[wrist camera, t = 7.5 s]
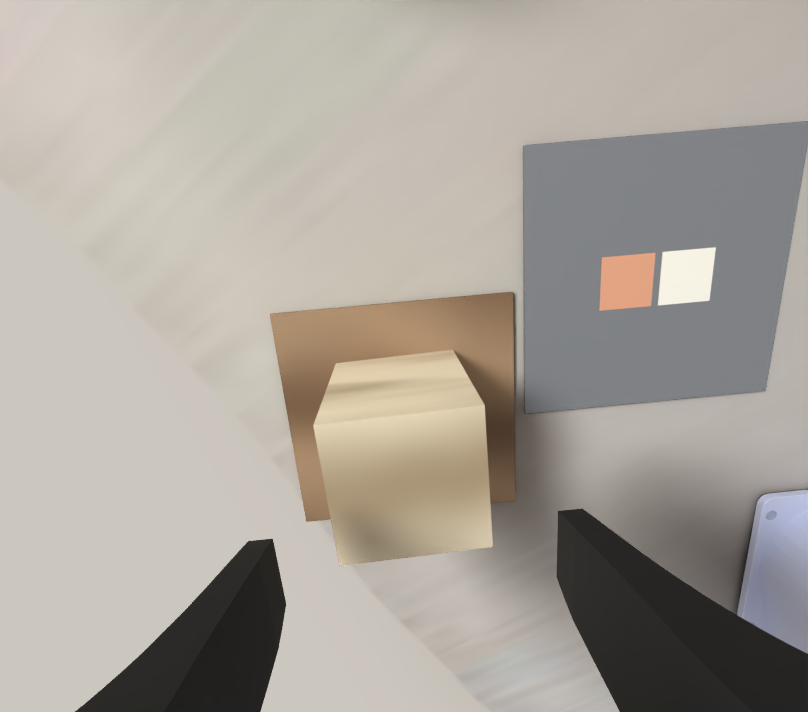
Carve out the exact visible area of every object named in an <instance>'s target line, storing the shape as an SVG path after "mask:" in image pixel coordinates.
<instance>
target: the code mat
mask: <svg viewBox="0 0 808 712" xmlns="http://www.w3.org/2000/svg"><path fill="white" fill-rule="evenodd" d="M807 145H808V121H804V122H792V123H780V124H769V125H757V126H745V127H733V128H721V129H709V130H698V131H686V132H674V133H662V134H650V135H638V136H626V137H615V138H603V139H591V140H579V141H567V142H555V143H544V144H532V145H524V146H523V264H524V413H525V414H528V413H538V412H549V411H559V410H569V409H580V408H590V407H601V406H611V405H621V404H632V403H642V402H653V401H663V400H673V399H684V398H694V397H704V396H715V395H725V394H736V393H746V392H756V391H766V385H767V379H768V373H769V367H770V361H771V355H772V350H773V344H774V338H775V332H776V326H777V320H778V315H779V309H780V303H781V297H782V291H783V285H784V279H785V274H786V268H787V262H788V256H789V250H790V244H791V239H792V233H793V227H794V221H795V215H796V209H797V203H798V198H799V192H800V186H801V180H802V174H803V168H804V163H805V157H806V151H807Z"/></svg>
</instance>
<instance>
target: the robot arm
mask: <svg viewBox="0 0 808 712" xmlns="http://www.w3.org/2000/svg"><path fill="white" fill-rule="evenodd" d="M557 579H558V582H559V584H560V587H561V590H562V593H563V595H564V598H565V601H566V603H567V606H568V608H569V611H570V613H571V616H572V618H573V621H574V623H575V625H576V627H577V629H578V631H579V633H580V635H581V637H582V639H583V641H584V643H585V645H586V647H587V648H588V650H589V652H590V654H591V656H592V658H593V660H594V662H595V664H596V666H597V668H598V670H599V672H600V674H601V676H602V678H603V680H604V682H605V684H606V686H607V687H608V689H609V691H610V693H611V695H612V697H613V699H614V701H615V703H616V705H617V707H618V709H619V711H620V712H808V490H799V491H789V492H780V493H770V494H765V495H763V496H761V497H760V498H759V499H758V502H757V506H756V511H755V517H754V522H753V528H752V534H751V539H750V545H749V550H748V556H747V561H746V567H745V573H744V578H743V584H742V589H741V595H740V600H739V606H738V612H737V615H736V614H734V613H732V612H731V611H729V610H727V609H725V608H724V607H722V606H721V605H719V604H717V603H716V602H714V601H712V600H711V599H709V598H708V597H706V596H704V595H703V594H701V593H700V592H698V591H697V590H695V589H694V588H692V587H691V586H689V585H688V584H686V583H684V582H683V581H681V580H680V579H678V578H677V577H675V576H674V575H672V574H671V573H670V572H668V571H667V570H665V569H664V568H662V567H661V566H659V565H658V564H657V563H655V562H654V561H652V560H651V559H650V558H648V557H647V556H645V555H644V554H643V553H641V552H640V551H638V550H637V549H636V548H634V547H633V546H632V545H630V544H629V543H628V542H626V541H625V540H624V539H622V538H621V537H620V536H618V535H617V534H616V533H614V532H613V531H612V530H610V529H609V528H608V527H606V526H605V525H604V524H602V523H601V522H600V521H598V520H597V519H596V518H594V517H593V516H592V515H590V514H589V513H588V512H586V511H585V510H583V509H575V510H564V511H558V546H557ZM285 607H286V601H285V596H284V592H283V587H282V582H281V578H280V572H279V567H278V562H277V558H276V553H275V548H274V543H273V539H266V540H256V541H248V542H247V543H246V545H245V546H243V548H242V549H241V550H240V551H239V552H238V553H237V554H236V555H235V557H233V559H232V560H231V561H230V562H229V563H228V564H227V565H226V566H225V567H224V569H223V570H222V571H221V572H220V573H219V574H218V575H217V576H216V577H215V579H214V580H213V581H212V582H211V583H210V584H209V585H208V586H207V588H206V589H205V590H204V591H203V592H202V593H201V594H200V595H199V596H198V597H197V598H196V599H195V600H194V602H192V604H191V605H190V606H189V607H188V608H187V609H186V610H185V611H184V612H183V613H182V614H181V615H180V616H179V617H178V618H177V619H176V620H175V621H174V622H173V623H172V624H171V625H170V626H169V627H168V628H167V629H166V630H165V631H164V632H163V633H162V634H161V635H160V636H159V637H158V638H157V639H156V640H155V641H154V642H153V643H152V644H151V645H150V646H149V647H148V648H147V649H146V650H145V651H144V652H143V653H142V654H141V655H140V656H139V657H138V658H137V659H135V660H134V661H133V662H132V663H131V664H130V665H129V666H128V667H127V668H126V669H125V670H123V671H122V672H121V673H120V674H119V675H118V676H117V677H116V678H115V679H113V680H112V681H111V682H110V683H109V684H107V685H106V686H105V687H104V688H103V689H102V690H101V691H99V692H98V693H97V694H96V695H95V696H94V697H92V698H91V699H90V700H89V701H88V702H87V703H85V704H84V705H83V706H82V707H80V708H79V709H78V710H77V711H75V712H260V711H261V707H262V704H263V701H264V697H265V694H266V690H267V687H268V684H269V680H270V676H271V673H272V669H273V666H274V662H275V659H276V655H277V651H278V648H279V642H280V637H281V631H282V626H283V620H284V613H285Z"/></svg>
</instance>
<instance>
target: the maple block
mask: <svg viewBox="0 0 808 712" xmlns="http://www.w3.org/2000/svg"><path fill="white" fill-rule="evenodd" d="M313 427H314V432H315V438H316V443H317V448H318V454H319V459H320V464H321V470H322V475H323V480H324V486H325V491H326V496H327V502H328V507H329V513H330V518H331V523H332V529H333V534H334V539H335V545H336V550H337V555H338V561H339V565H340V566H342V565H350V564H358V563H367V562H375V561H383V560H391V559H399V558H407V557H416V556H424V555H432V554H440V553H448V552H456V551H465V550H473V549H481V548H489V547H493V539H492V521H491V504H490V487H489V470H488V453H487V436H486V419H485V405H484V403H483V401H482V400H481V398H480V396H479V394H478V393H477V391H476V389H475V387H474V386H473V384H472V382H471V380H470V379H469V377H468V375H467V373H466V372H465V370H464V368H463V366H462V365H461V363H460V361H459V360H458V358H457V356H456V354H455V353H454V351H453V350H445V351H437V352H428V353H420V354H411V355H403V356H394V357H386V358H377V359H369V360H360V361H351V362H343V363H336V364H335V367H334V370H333V373H332V375H331V378H330V381H329V384H328V386H327V389H326V392H325V395H324V397H323V400H322V403H321V406H320V408H319V411H318V414H317V417H316V419H315V422H314V425H313Z"/></svg>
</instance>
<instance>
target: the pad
mask: <svg viewBox="0 0 808 712" xmlns="http://www.w3.org/2000/svg"><path fill="white" fill-rule="evenodd" d="M270 318H271V324H272V330H273V335H274V341H275V347H276V352H277V358H278V364H279V369H280V375H281V381H282V386H283V392H284V397H285V403H286V409H287V414H288V420H289V426H290V431H291V437H292V443H293V448H294V454H295V460H296V465H297V471H298V477H299V482H300V488H301V494H302V499H303V505H304V511H305V516H306V521H318V520H328V519H331V518H330V513H329V507H328V502H327V496H326V491H325V486H324V480H323V475H322V470H321V464H320V459H319V454H318V448H317V443H316V438H315V432H314V427H313V425H314V422H315V419H316V417H317V414H318V411H319V408H320V406H321V403H322V400H323V397H324V395H325V392H326V389H327V386H328V384H329V381H330V378H331V375H332V373H333V370H334V367H335V364H336V363H343V362H351V361H360V360H369V359H377V358H386V357H394V356H403V355H411V354H420V353H428V352H437V351H445V350H453V351H454V353H455V354H456V356H457V358H458V360H459V361H460V363H461V365H462V366H463V368H464V370H465V372H466V373H467V375H468V377H469V379H470V380H471V382H472V384H473V386H474V387H475V389H476V391H477V393H478V394H479V396H480V398H481V400H482V401H483V403H484V405H485V419H486V436H487V453H488V470H489V487H490V503H498V502H508V501H515V429H514V333H513V292H505V293H494V294H483V295H472V296H461V297H450V298H439V299H428V300H417V301H406V302H395V303H384V304H373V305H362V306H351V307H340V308H329V309H318V310H307V311H296V312H285V313H274V314H270Z"/></svg>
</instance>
